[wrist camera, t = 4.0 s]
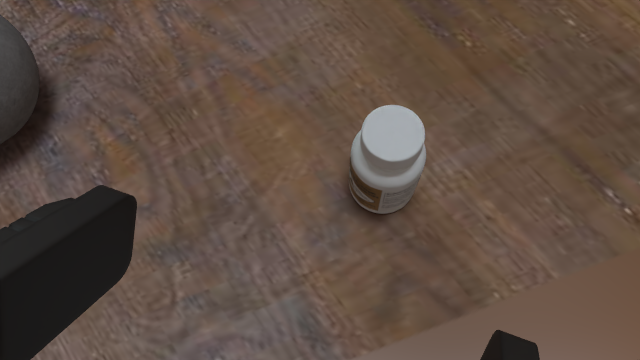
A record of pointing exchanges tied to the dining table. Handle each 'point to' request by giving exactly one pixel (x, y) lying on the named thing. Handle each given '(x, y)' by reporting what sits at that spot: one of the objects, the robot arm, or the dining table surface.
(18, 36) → the decorative ball
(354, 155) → the pill bottle
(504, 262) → the dining table surface
